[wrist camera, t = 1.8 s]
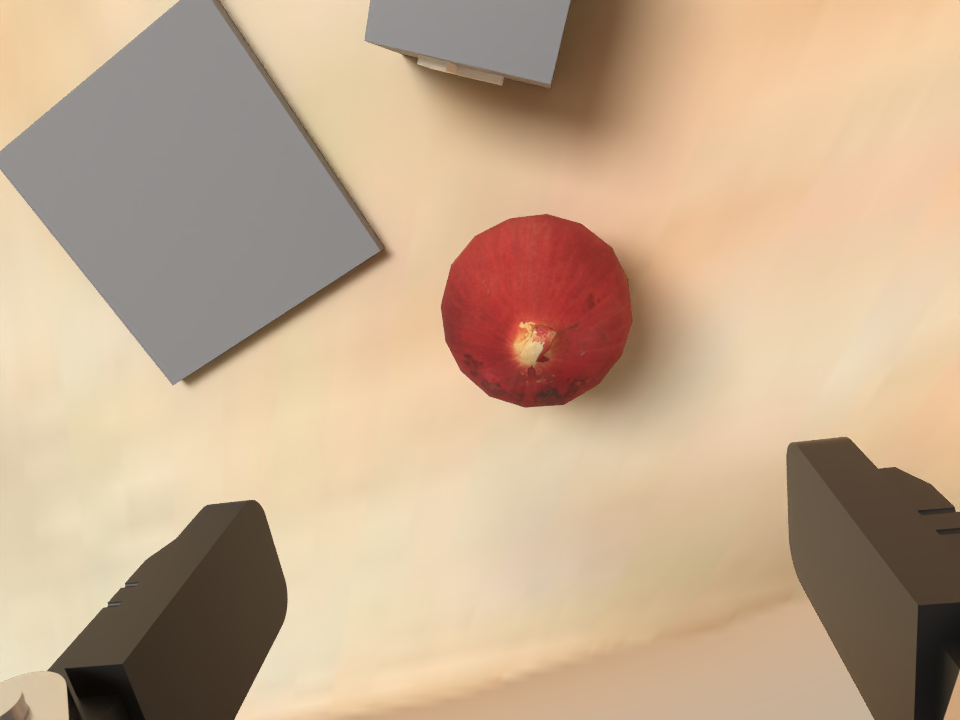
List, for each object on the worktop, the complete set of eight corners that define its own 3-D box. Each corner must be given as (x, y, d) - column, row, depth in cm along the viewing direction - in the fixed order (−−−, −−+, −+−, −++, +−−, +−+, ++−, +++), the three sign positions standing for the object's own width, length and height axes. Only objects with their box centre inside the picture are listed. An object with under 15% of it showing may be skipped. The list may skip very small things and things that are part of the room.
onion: (624, 353, 26) (655, 453, 18) (469, 367, 26) (436, 469, 19) (614, 191, 24) (643, 229, 16) (447, 211, 25) (401, 256, 17)
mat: (208, -14, 23) (200, -17, 22) (383, 247, 25) (380, 250, 25) (3, 157, 25) (-9, 158, 25) (180, 379, 28) (172, 385, 27)
